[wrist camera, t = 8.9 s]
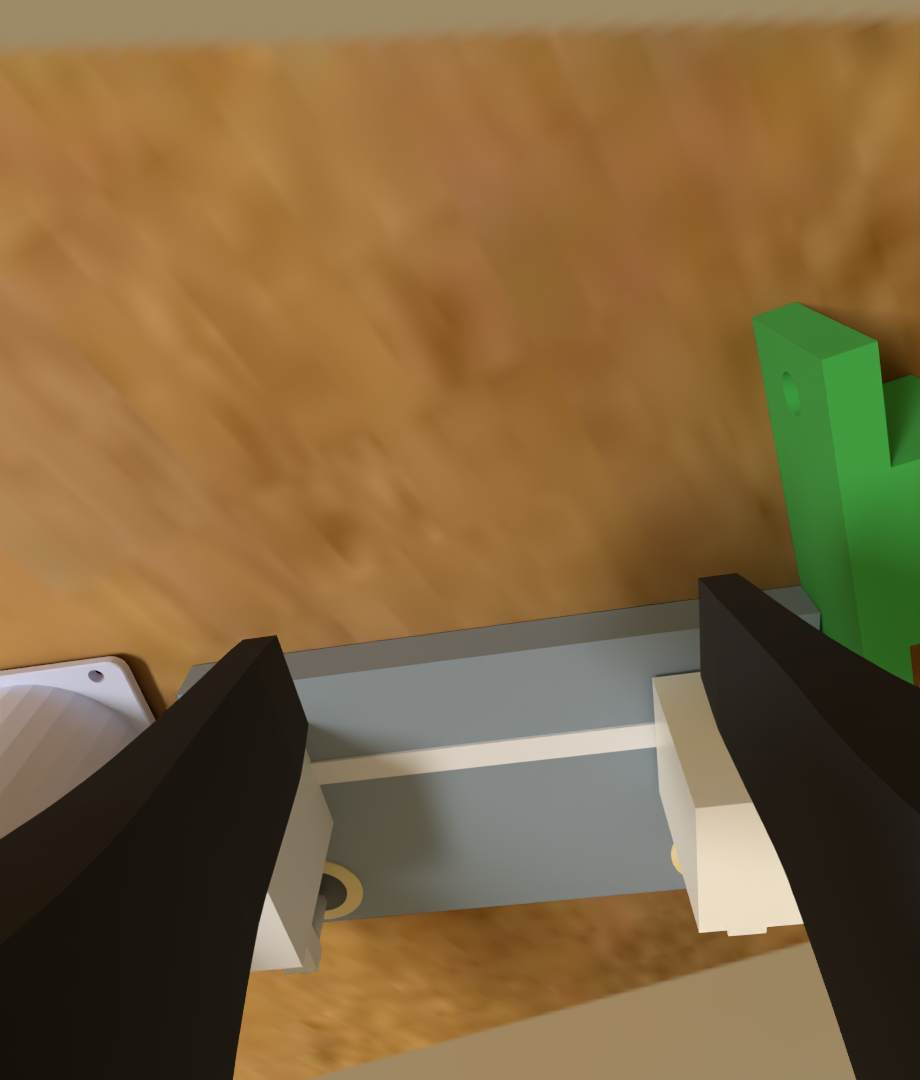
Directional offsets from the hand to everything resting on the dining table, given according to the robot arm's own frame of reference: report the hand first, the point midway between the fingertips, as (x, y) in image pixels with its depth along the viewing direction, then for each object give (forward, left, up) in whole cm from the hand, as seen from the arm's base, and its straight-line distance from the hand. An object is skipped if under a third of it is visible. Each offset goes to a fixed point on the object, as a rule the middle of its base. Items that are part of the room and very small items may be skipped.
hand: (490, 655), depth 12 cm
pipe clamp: (+10, -3, -10) cm, 14 cm away
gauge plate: (-1, -12, -9) cm, 15 cm away
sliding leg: (+6, -12, -8) cm, 15 cm away
